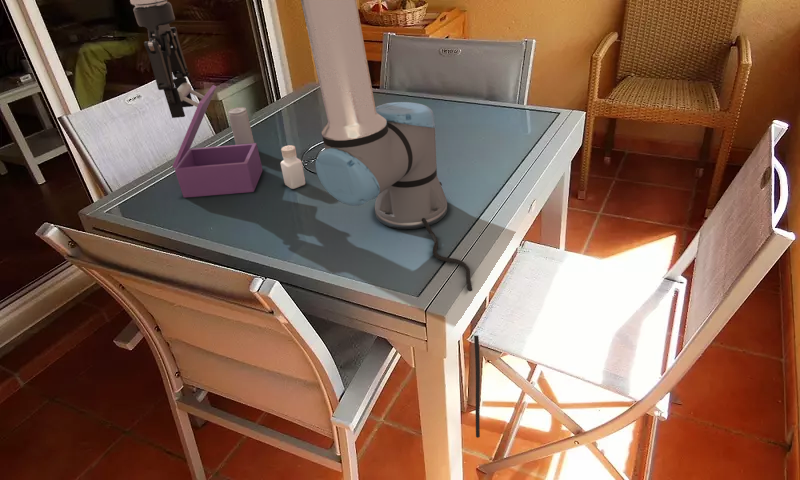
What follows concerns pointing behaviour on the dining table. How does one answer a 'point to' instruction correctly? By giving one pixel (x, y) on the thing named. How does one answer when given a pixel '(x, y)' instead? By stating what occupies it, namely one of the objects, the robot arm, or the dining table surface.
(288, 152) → the salt shaker
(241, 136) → the beverage can
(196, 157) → the file box
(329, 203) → the dining table surface
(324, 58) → the robot arm
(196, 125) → the lid
